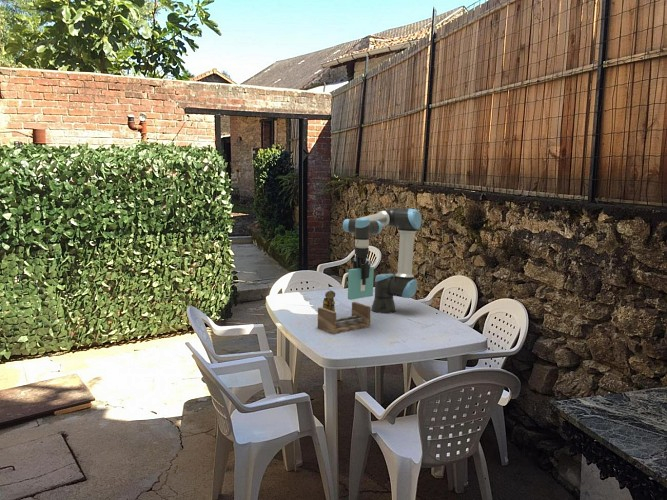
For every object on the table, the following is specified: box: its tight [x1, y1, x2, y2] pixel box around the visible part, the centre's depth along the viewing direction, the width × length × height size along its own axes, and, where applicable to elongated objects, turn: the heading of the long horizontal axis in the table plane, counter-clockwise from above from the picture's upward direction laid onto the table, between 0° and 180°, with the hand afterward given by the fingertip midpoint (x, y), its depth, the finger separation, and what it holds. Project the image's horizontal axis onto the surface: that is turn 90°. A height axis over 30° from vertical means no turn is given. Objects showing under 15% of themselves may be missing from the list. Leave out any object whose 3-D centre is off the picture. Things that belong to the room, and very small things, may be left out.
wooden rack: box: [317, 301, 372, 335], centre depth 296 cm, size 26×14×12 cm, turn 127°
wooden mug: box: [322, 290, 336, 312], centre depth 315 cm, size 9×14×18 cm, turn 7°
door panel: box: [347, 266, 375, 301], centre depth 289 cm, size 16×2×16 cm, turn 129°
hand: (360, 290), depth 289 cm, fingers closed on door panel, 2 cm apart
